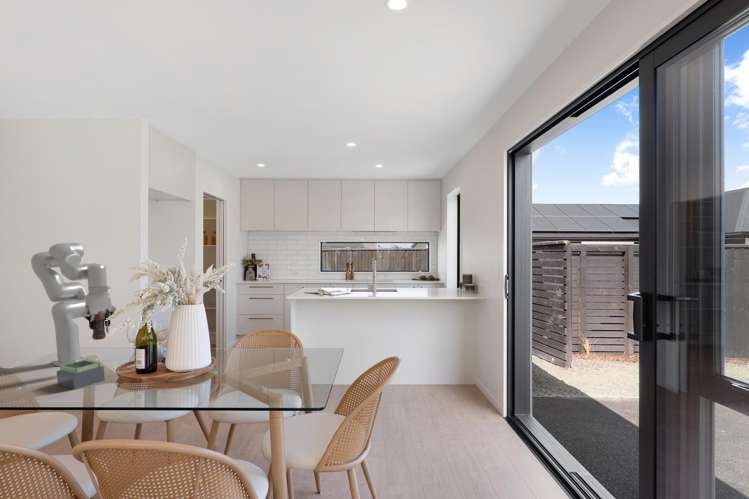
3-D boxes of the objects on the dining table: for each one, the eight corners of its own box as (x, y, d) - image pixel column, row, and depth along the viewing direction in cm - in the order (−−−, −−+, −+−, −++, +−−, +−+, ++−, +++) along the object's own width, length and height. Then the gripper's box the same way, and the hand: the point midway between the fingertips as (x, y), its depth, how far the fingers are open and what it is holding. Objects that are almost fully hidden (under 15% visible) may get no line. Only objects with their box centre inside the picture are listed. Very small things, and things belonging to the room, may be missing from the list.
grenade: (108, 339, 200) (108, 307, 200) (89, 340, 197) (89, 309, 197) (111, 336, 205) (110, 306, 205) (93, 338, 203) (92, 307, 202)
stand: (57, 384, 181) (56, 366, 181) (87, 375, 192) (86, 358, 191) (74, 389, 174) (72, 370, 174) (104, 380, 185) (103, 362, 185)
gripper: (112, 287, 209) (114, 323, 210) (73, 292, 194) (76, 330, 195) (120, 288, 206) (122, 324, 207) (82, 293, 191) (84, 332, 192)
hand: (100, 327), depth 201 cm, fingers closed on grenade, 6 cm apart
